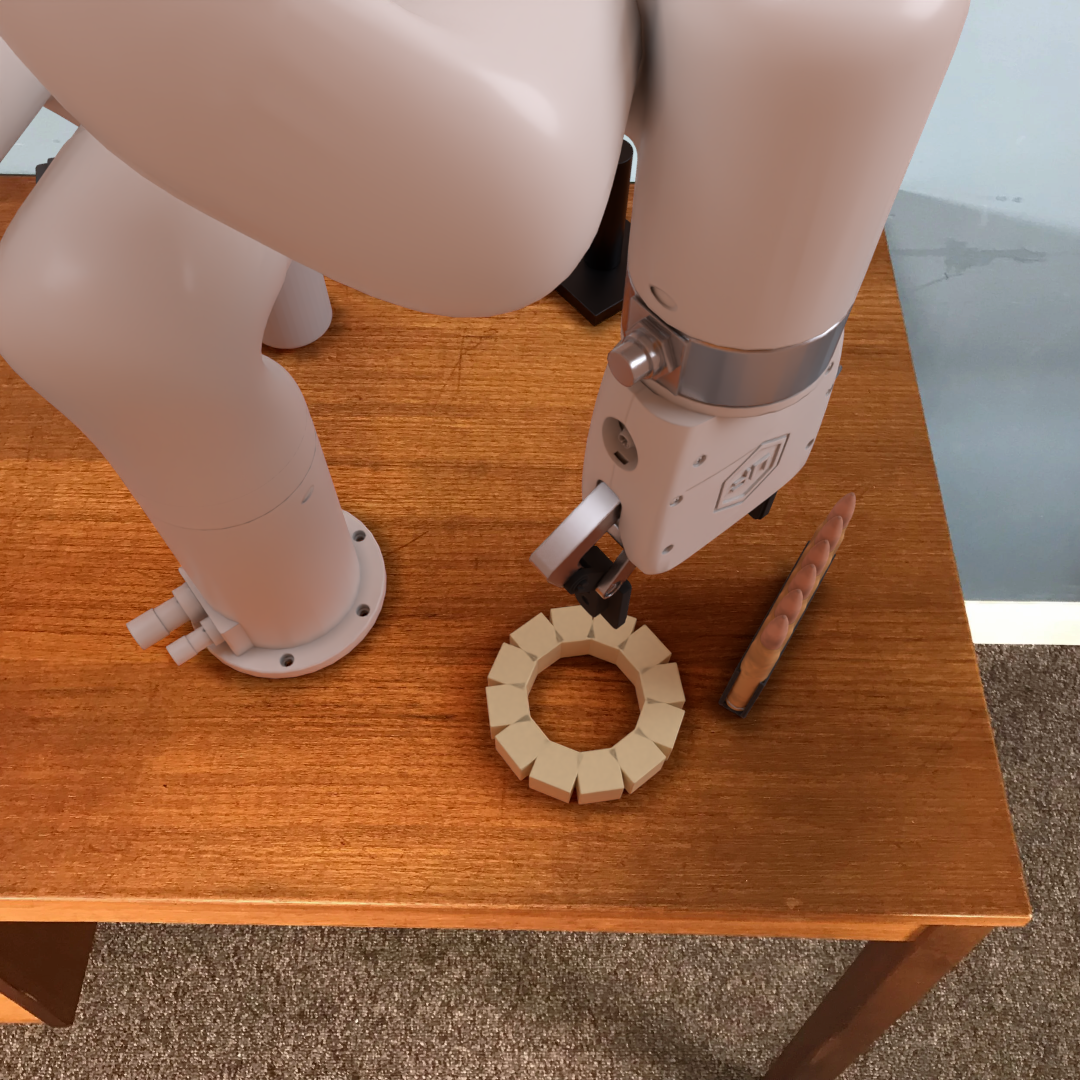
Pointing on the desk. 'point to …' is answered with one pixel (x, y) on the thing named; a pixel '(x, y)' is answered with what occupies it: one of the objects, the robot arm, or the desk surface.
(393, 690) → the desk surface
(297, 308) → the beverage can
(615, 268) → the post
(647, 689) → the segmented block ring
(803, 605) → the ammunition clip
